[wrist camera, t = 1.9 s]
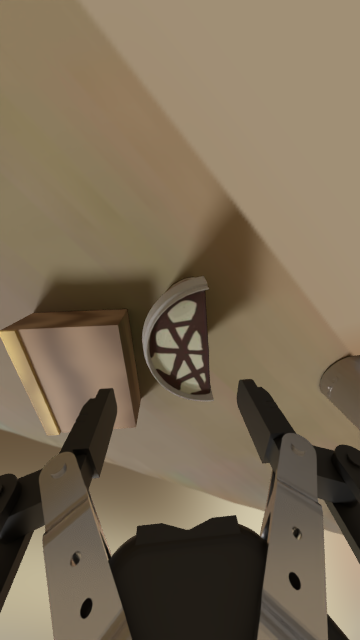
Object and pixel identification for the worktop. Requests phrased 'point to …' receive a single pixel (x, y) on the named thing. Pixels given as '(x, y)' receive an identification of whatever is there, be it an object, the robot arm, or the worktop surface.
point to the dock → (74, 364)
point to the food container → (180, 340)
